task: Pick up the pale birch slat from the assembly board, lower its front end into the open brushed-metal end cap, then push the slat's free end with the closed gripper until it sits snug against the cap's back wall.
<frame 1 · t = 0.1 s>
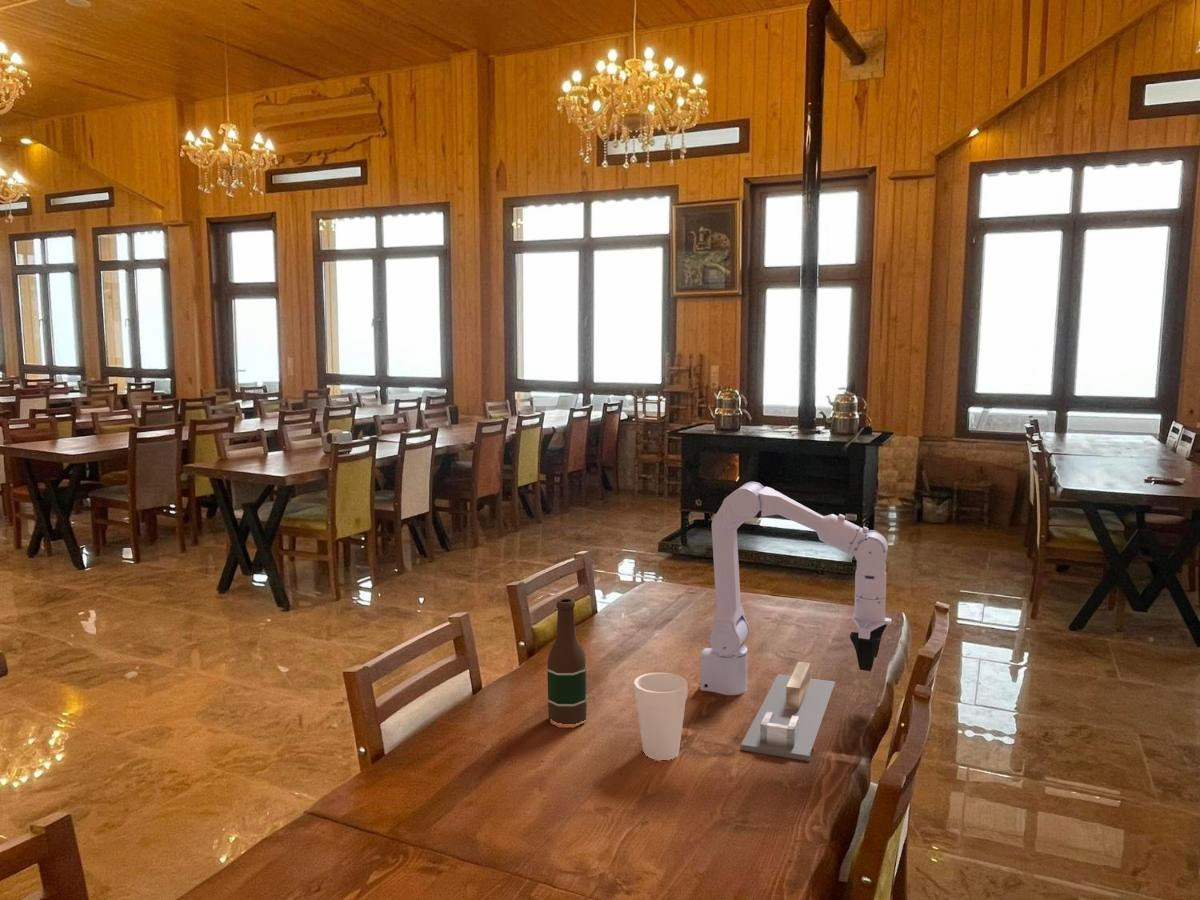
hand: (868, 663, 166), 10 cm above the table, tool pointing down, fingers open, 7 cm apart
beer bottle: (567, 721, 165), on the table
assembly board: (792, 715, 166), on the table
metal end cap: (779, 743, 155), resting on assembly board
birch slat: (798, 695, 173), point 1 cm above the table, touching assembly board
foam cup: (661, 753, 152), on the table
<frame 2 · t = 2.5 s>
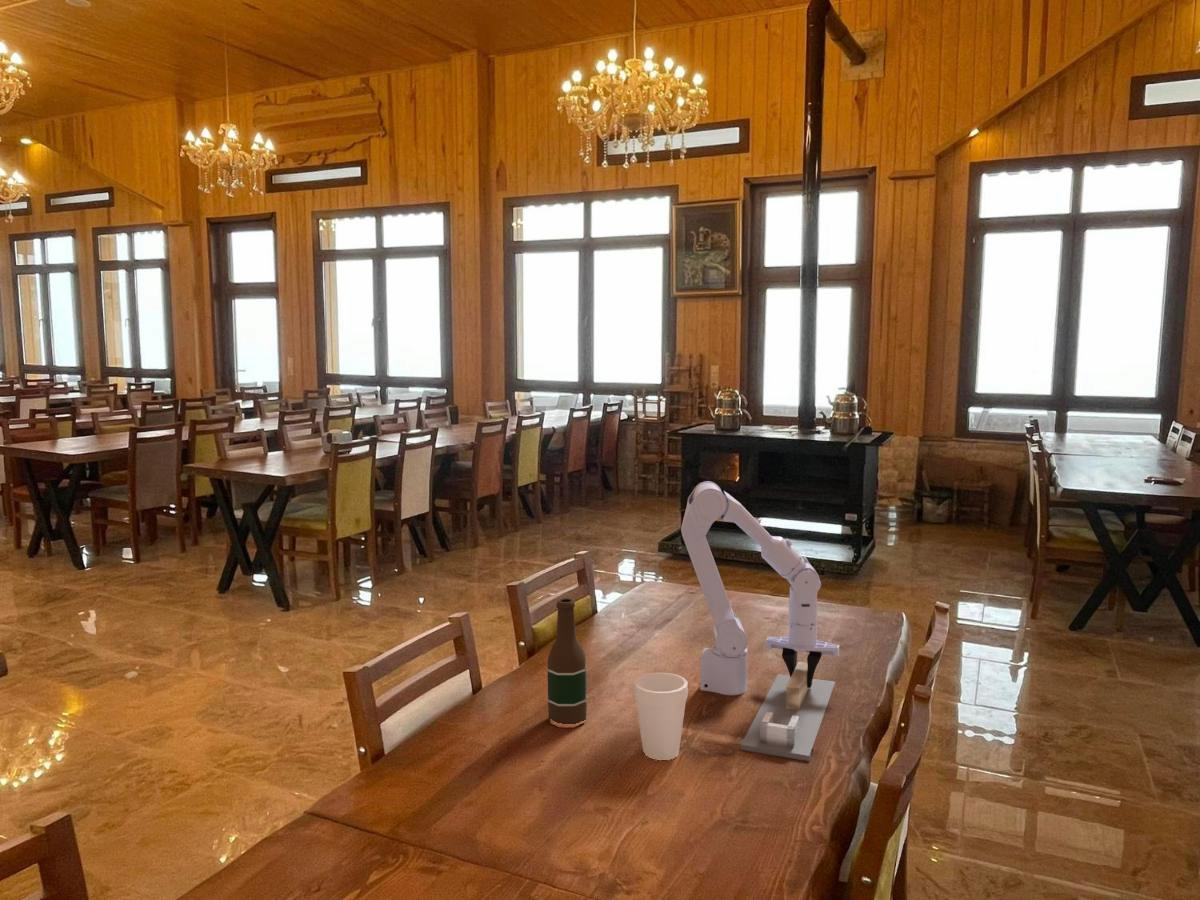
hand: (801, 685, 176), 2 cm above the table, tool pointing down, fingers closed on birch slat, 2 cm apart
birch slat: (798, 695, 173), point 1 cm above the table, touching assembly board, gripper
everything else where it was.
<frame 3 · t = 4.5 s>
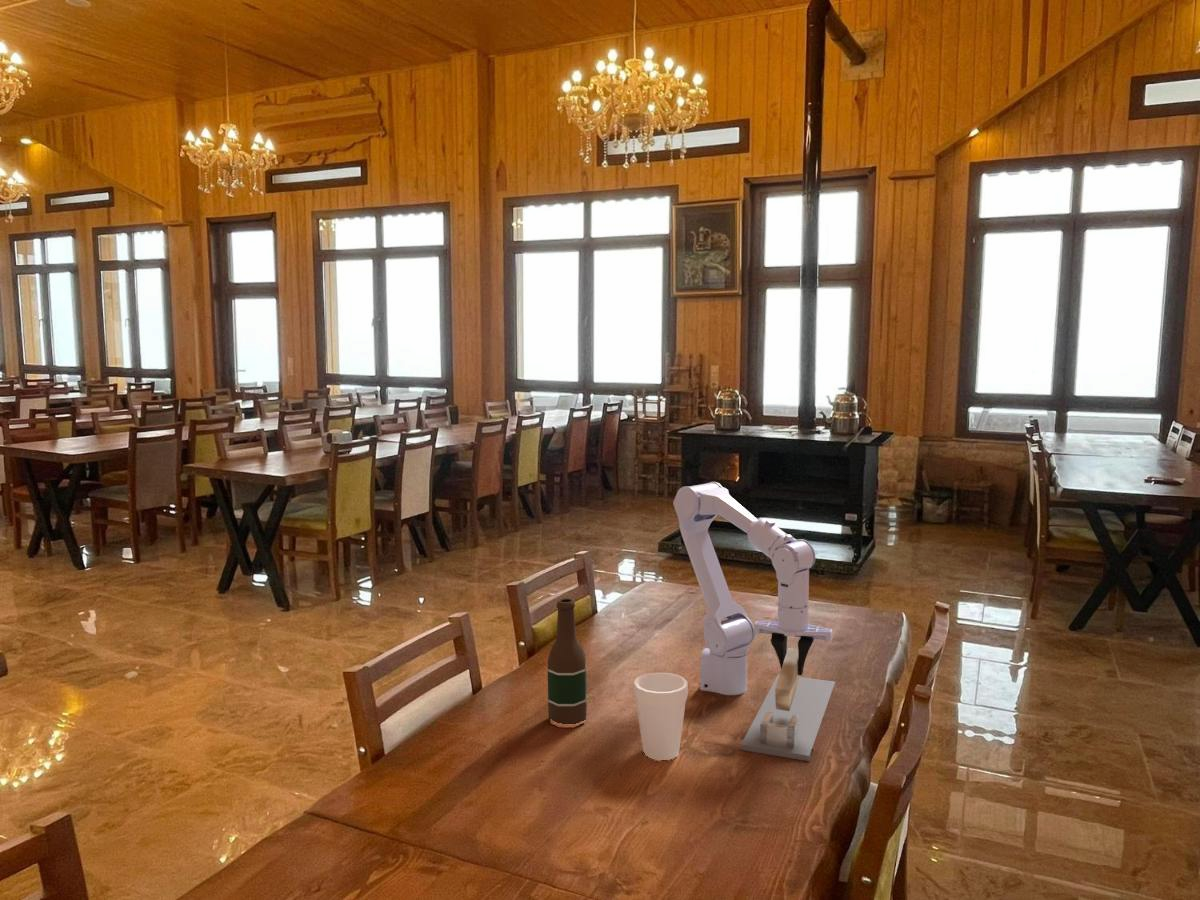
hand: (792, 672, 164), 9 cm above the table, tool pointing down, fingers closed on birch slat, 2 cm apart
birch slat: (789, 688, 161), point 7 cm above the table, tilted 12°, touching gripper
everything else where it was.
when the fingers open (3 cm above the table, at t = 6.4 s): birch slat stays where it is, resting on assembly board.
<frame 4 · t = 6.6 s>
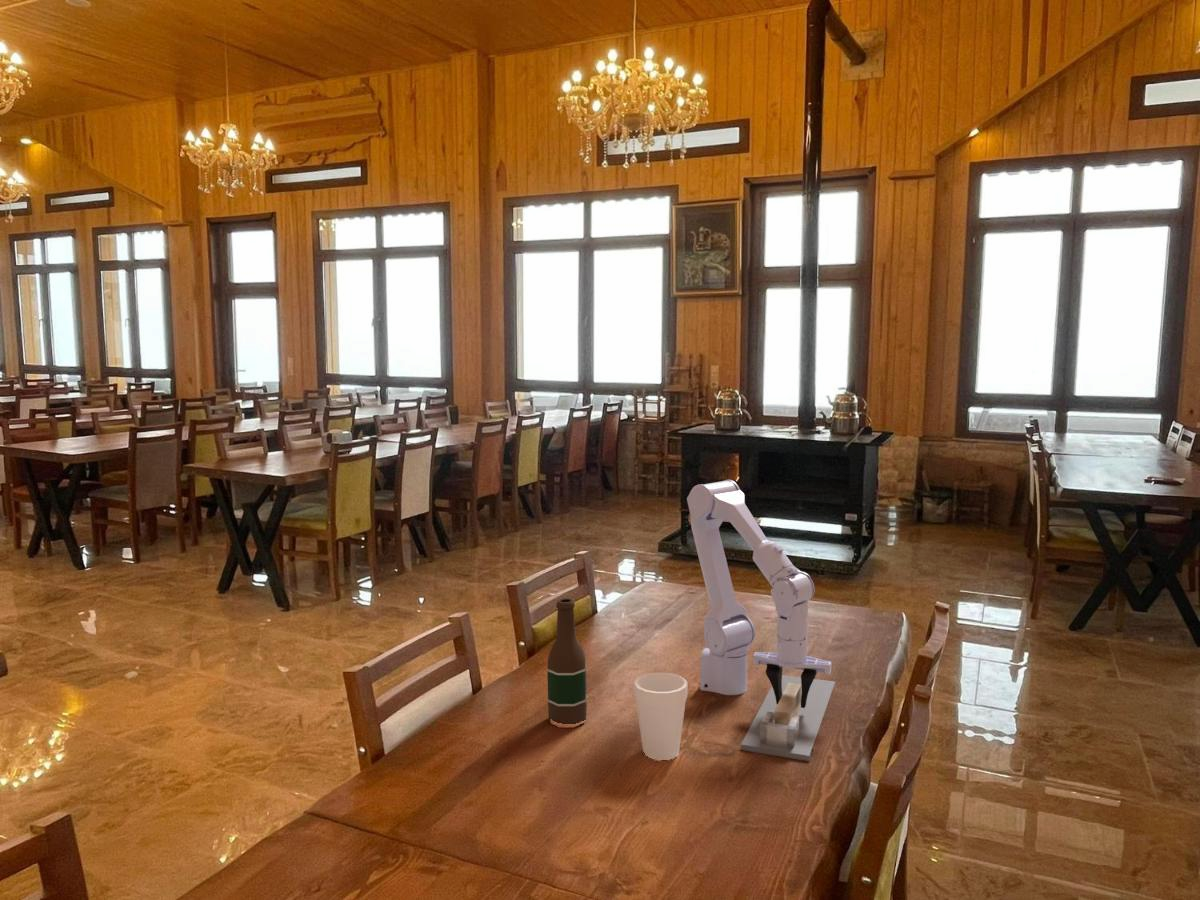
hand: (791, 704, 165), 3 cm above the table, tool pointing down, fingers open, 4 cm apart
birch slat: (788, 719, 162), point 1 cm above the table, touching assembly board
everything else where it was.
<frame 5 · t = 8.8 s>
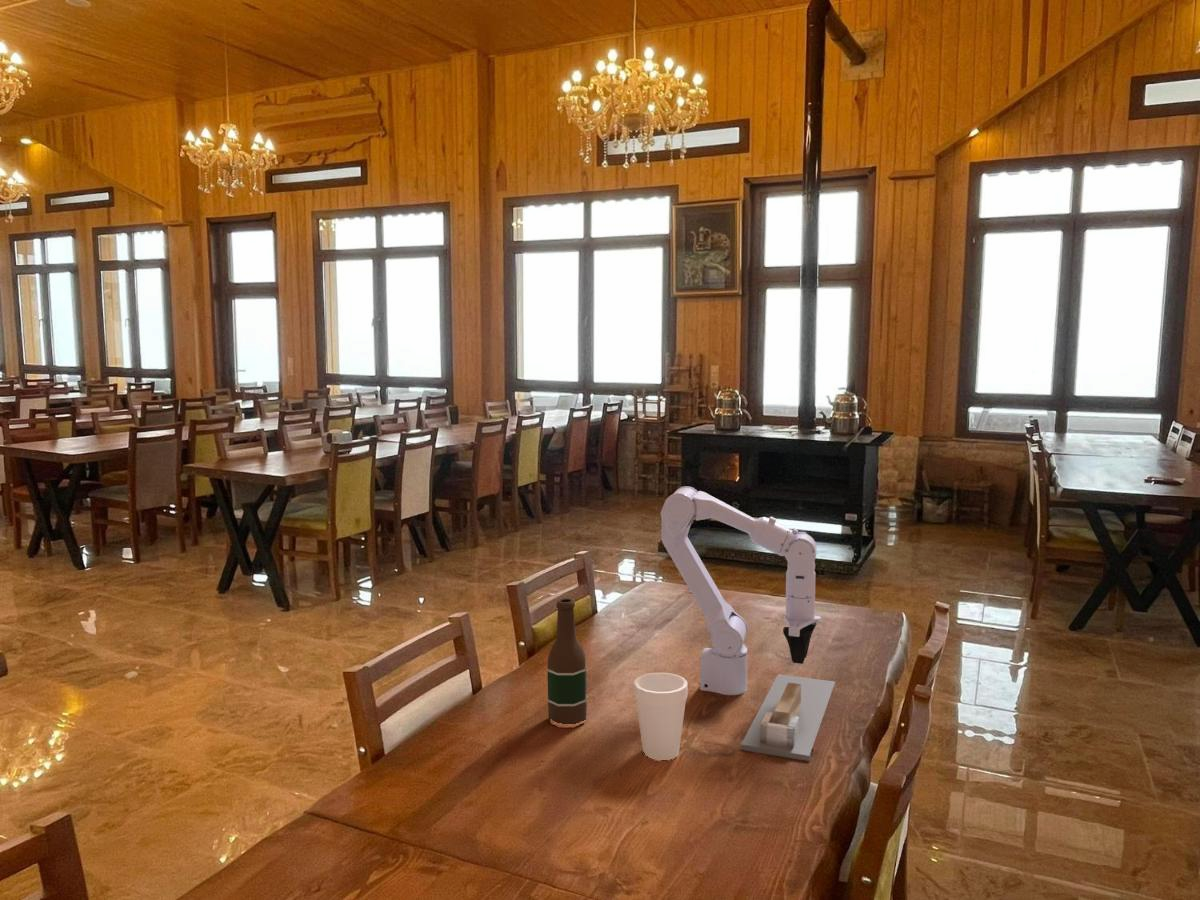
hand: (799, 659, 172), 8 cm above the table, tool pointing down, fingers open, 3 cm apart
nothing on the table moved.
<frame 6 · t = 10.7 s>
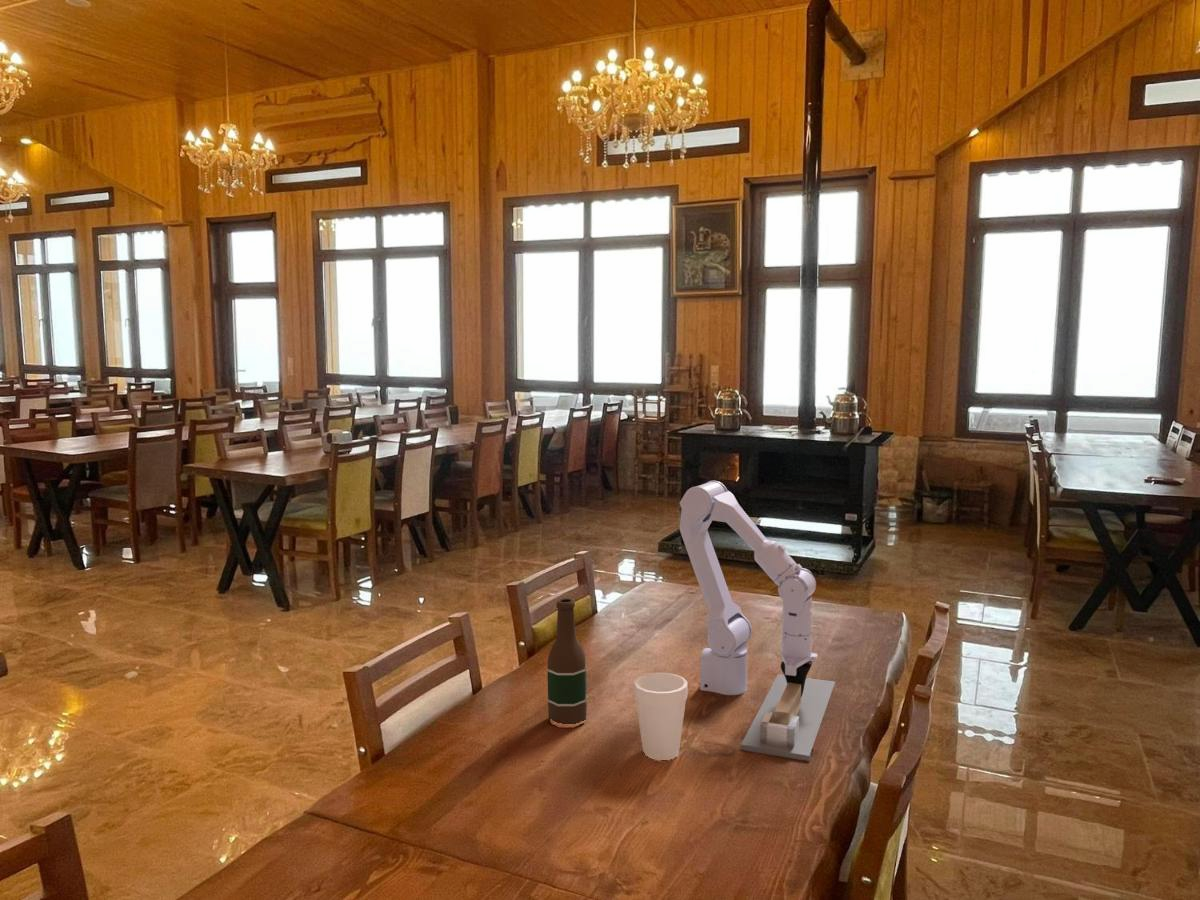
hand: (796, 697, 170), 2 cm above the table, tool pointing down, fingers closed
birch slat: (788, 719, 162), point 1 cm above the table, touching assembly board, gripper
everything else where it was.
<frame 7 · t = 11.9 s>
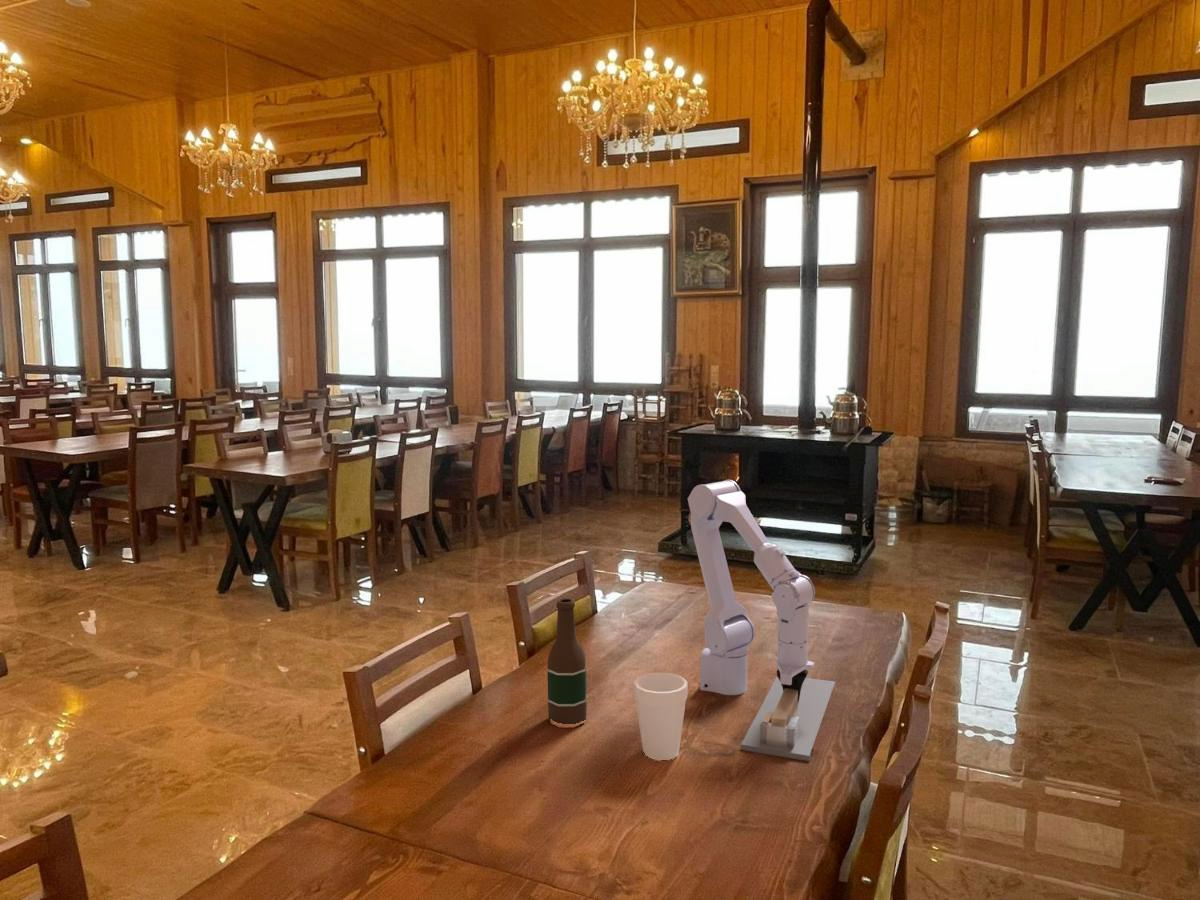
hand: (791, 706, 166), 2 cm above the table, tool pointing down, fingers closed, pressing on birch slat
birch slat: (784, 726, 159), point 1 cm above the table, touching assembly board, gripper, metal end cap
everything else where it was.
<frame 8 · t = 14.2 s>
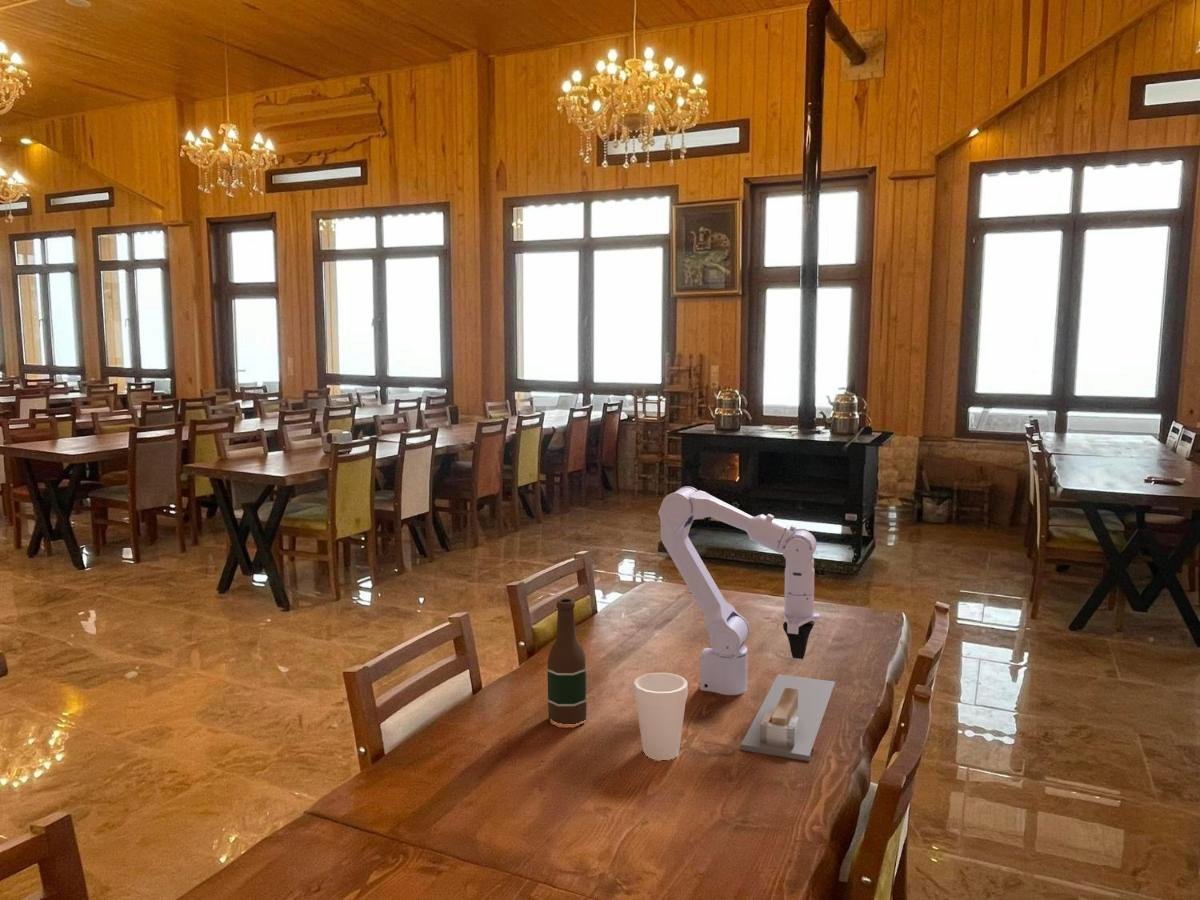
hand: (798, 657, 171), 9 cm above the table, tool pointing down, fingers closed
birch slat: (785, 725, 159), point 1 cm above the table, touching assembly board
everything else where it was.
at the end: birch slat 0.7 cm from the target spot, point 1.0 cm above the table; birch slat tilted 0°; the gripper is holding nothing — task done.
